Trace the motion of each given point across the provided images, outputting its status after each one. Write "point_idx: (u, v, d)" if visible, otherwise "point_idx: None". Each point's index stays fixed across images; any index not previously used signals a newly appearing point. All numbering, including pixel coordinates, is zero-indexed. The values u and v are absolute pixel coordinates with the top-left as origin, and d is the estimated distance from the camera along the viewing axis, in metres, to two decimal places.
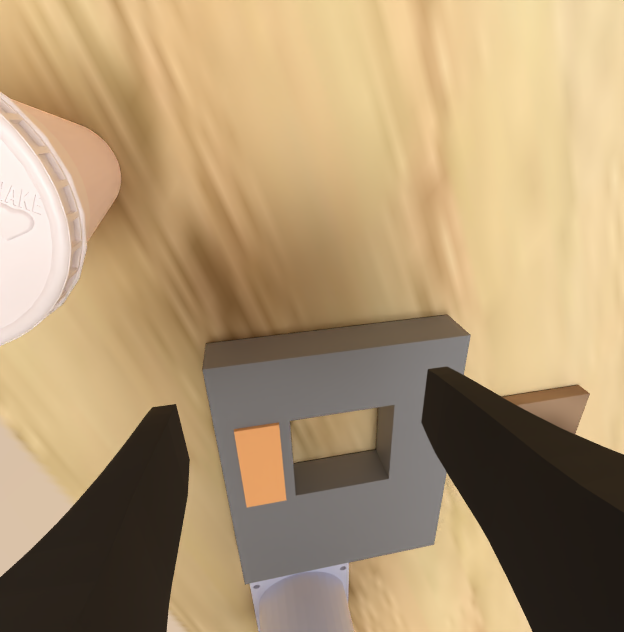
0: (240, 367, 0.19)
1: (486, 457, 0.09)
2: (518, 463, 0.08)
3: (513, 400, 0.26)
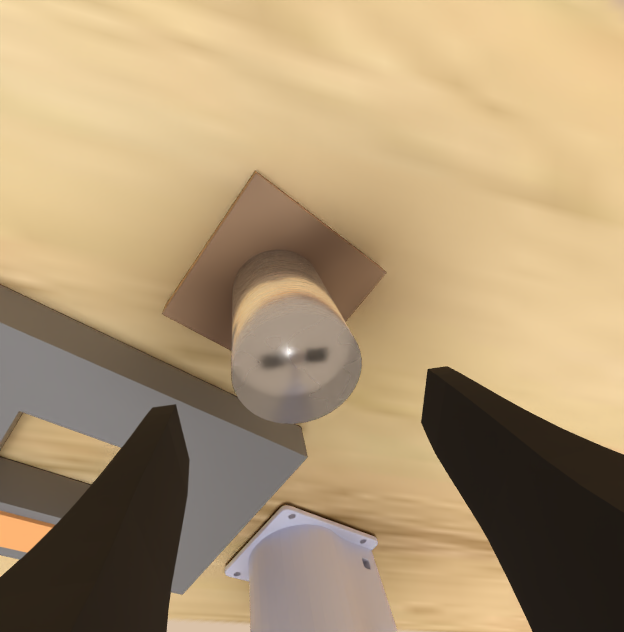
0: None
1: (486, 457, 0.09)
2: (518, 463, 0.08)
3: (190, 269, 0.18)
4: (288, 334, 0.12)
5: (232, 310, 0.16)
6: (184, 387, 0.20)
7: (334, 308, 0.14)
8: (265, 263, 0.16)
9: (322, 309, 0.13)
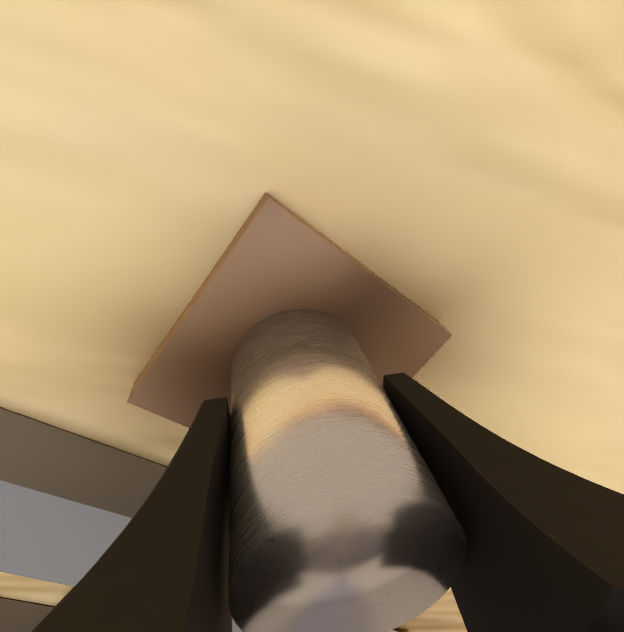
0: None
1: (432, 467, 0.09)
2: (457, 474, 0.08)
3: (168, 337, 0.12)
4: (340, 531, 0.06)
5: (231, 415, 0.10)
6: None
7: (410, 445, 0.08)
8: (282, 338, 0.11)
9: (400, 468, 0.07)
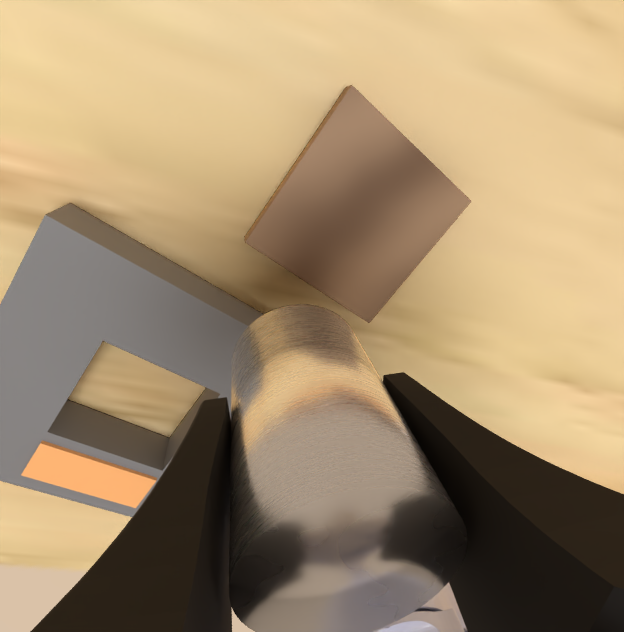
0: None
1: (432, 467, 0.09)
2: (457, 474, 0.08)
3: (275, 195, 0.18)
4: (343, 522, 0.06)
5: (231, 408, 0.10)
6: None
7: (412, 440, 0.08)
8: (284, 333, 0.11)
9: (403, 460, 0.07)
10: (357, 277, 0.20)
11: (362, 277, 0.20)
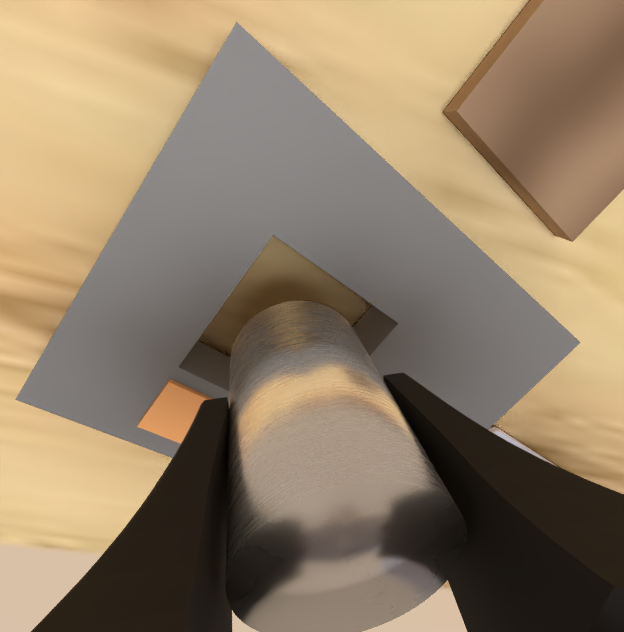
0: (42, 364, 0.13)
1: None
2: (457, 474, 0.08)
3: (501, 45, 0.13)
4: (346, 516, 0.06)
5: (230, 400, 0.10)
6: None
7: (414, 438, 0.08)
8: (287, 327, 0.10)
9: (408, 456, 0.07)
10: (576, 174, 0.15)
11: (582, 175, 0.15)
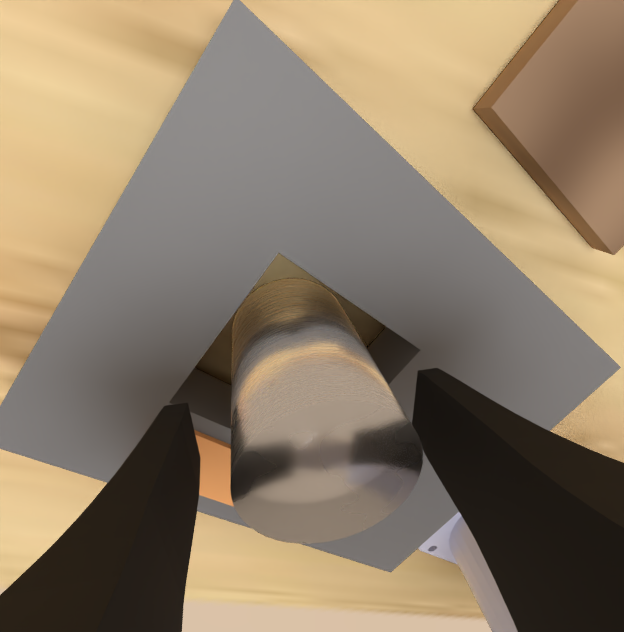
0: (10, 402, 0.11)
1: (475, 459, 0.09)
2: (504, 466, 0.08)
3: (544, 31, 0.11)
4: (325, 429, 0.08)
5: (232, 360, 0.12)
6: None
7: (384, 380, 0.10)
8: (281, 298, 0.12)
9: (375, 388, 0.08)
10: (622, 180, 0.13)
11: None
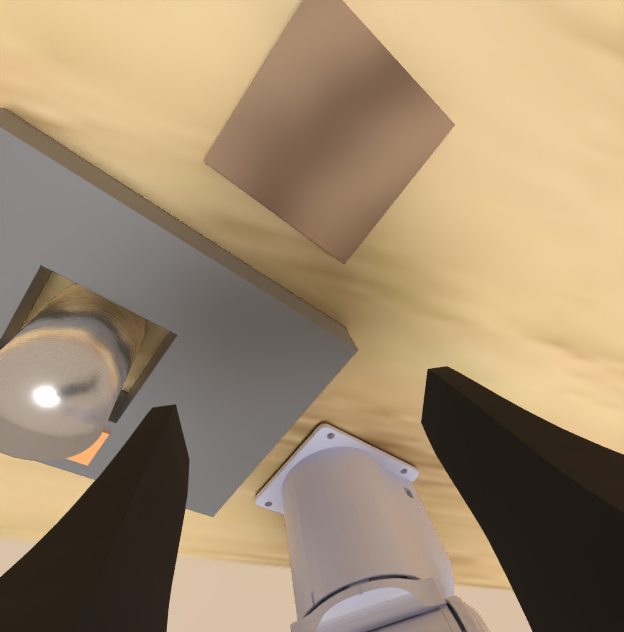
0: None
1: (486, 457, 0.09)
2: (518, 463, 0.08)
3: None
4: (16, 378, 0.13)
5: None
6: (224, 259, 0.18)
7: (92, 352, 0.14)
8: (65, 297, 0.17)
9: (62, 354, 0.13)
10: (330, 209, 0.18)
11: (336, 210, 0.18)
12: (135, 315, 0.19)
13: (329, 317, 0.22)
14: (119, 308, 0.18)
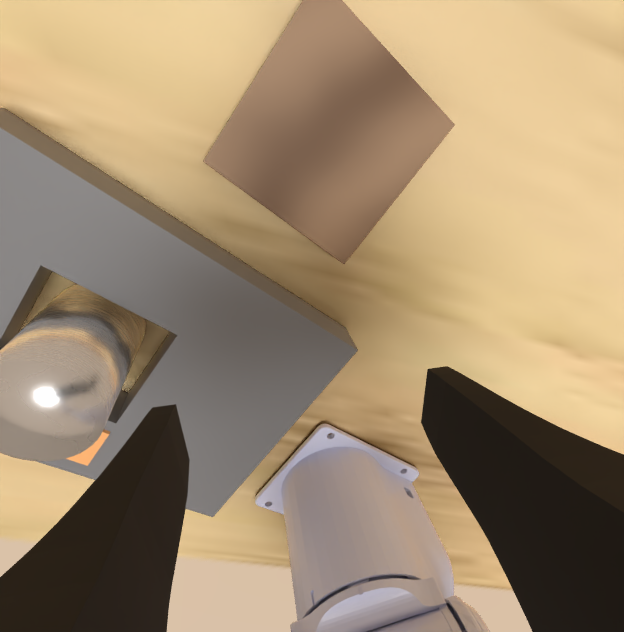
0: None
1: (486, 457, 0.09)
2: (518, 463, 0.08)
3: None
4: (16, 378, 0.13)
5: None
6: (224, 259, 0.18)
7: (92, 352, 0.14)
8: (65, 297, 0.17)
9: (62, 354, 0.13)
10: (329, 209, 0.18)
11: (335, 210, 0.18)
12: (135, 315, 0.19)
13: None
14: (119, 308, 0.18)
